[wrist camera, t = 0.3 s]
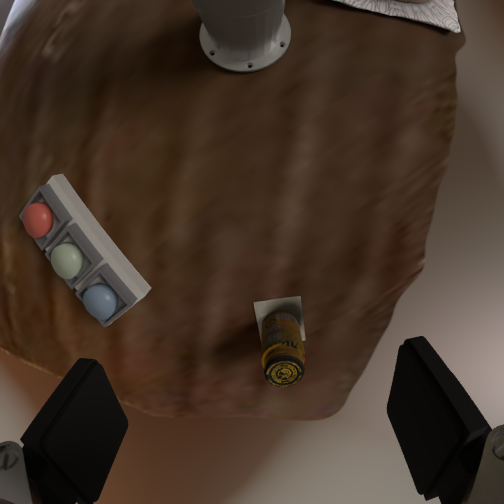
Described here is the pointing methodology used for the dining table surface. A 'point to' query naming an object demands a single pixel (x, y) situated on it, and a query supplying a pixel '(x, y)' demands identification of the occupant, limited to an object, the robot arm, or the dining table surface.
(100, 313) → the blue button
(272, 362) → the condiment
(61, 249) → the sage button
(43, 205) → the red button
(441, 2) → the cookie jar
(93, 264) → the button housing
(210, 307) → the dining table surface
